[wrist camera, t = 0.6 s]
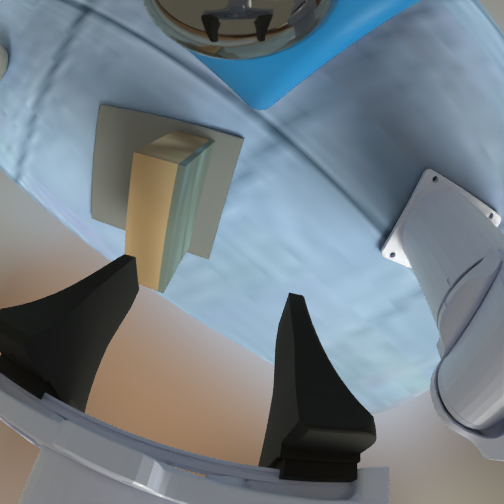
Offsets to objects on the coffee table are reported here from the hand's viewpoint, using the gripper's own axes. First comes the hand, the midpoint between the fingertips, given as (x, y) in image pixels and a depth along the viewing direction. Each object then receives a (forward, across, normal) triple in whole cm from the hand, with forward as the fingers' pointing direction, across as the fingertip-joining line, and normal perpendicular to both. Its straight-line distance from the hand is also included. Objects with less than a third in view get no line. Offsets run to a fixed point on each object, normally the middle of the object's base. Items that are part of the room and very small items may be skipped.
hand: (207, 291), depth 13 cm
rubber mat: (+10, +7, 0) cm, 12 cm away
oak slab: (+10, +5, 0) cm, 11 cm away
